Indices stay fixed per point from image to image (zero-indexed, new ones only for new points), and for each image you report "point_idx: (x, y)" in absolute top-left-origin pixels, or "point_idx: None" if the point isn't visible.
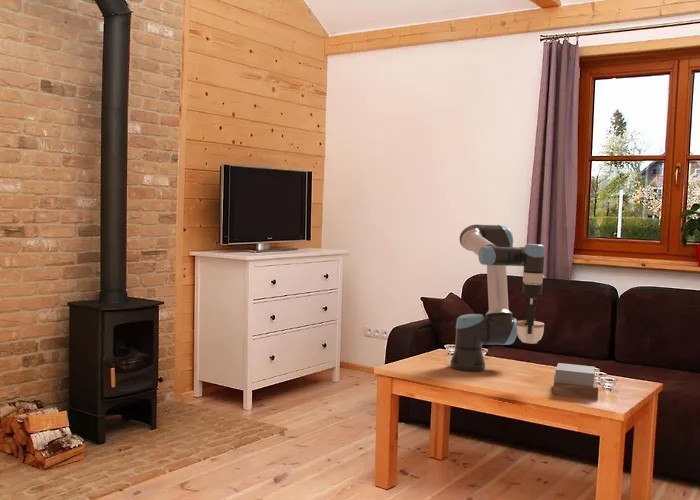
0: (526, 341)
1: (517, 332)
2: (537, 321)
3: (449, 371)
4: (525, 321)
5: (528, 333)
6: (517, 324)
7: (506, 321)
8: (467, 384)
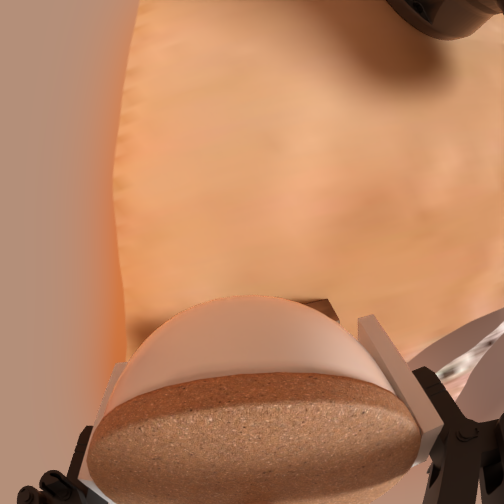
0: (118, 372)
1: (157, 332)
2: (368, 500)
3: None
4: (274, 482)
5: (87, 432)
6: (121, 406)
7: None
8: (148, 24)
